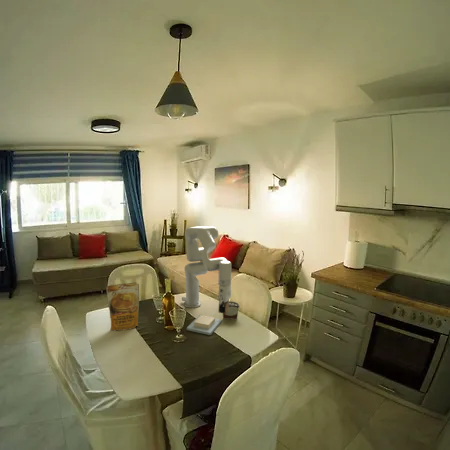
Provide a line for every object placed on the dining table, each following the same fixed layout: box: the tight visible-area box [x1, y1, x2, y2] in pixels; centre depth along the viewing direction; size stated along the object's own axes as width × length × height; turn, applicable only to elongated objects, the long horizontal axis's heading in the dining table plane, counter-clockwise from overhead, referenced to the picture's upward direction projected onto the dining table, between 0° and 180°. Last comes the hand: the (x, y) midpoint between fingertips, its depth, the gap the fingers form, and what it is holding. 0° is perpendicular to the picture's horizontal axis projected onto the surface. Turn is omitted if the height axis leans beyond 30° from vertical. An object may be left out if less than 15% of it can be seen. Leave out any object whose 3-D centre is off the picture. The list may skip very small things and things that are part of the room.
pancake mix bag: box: [105, 282, 140, 331], centre depth 177 cm, size 7×19×28 cm, turn 110°
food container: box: [222, 300, 240, 320], centre depth 195 cm, size 12×6×10 cm, turn 84°
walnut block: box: [218, 300, 230, 314], centre depth 174 cm, size 5×5×6 cm
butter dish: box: [186, 314, 223, 336], centre depth 182 cm, size 16×18×4 cm
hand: (223, 309), depth 174 cm, fingers closed on walnut block, 5 cm apart
